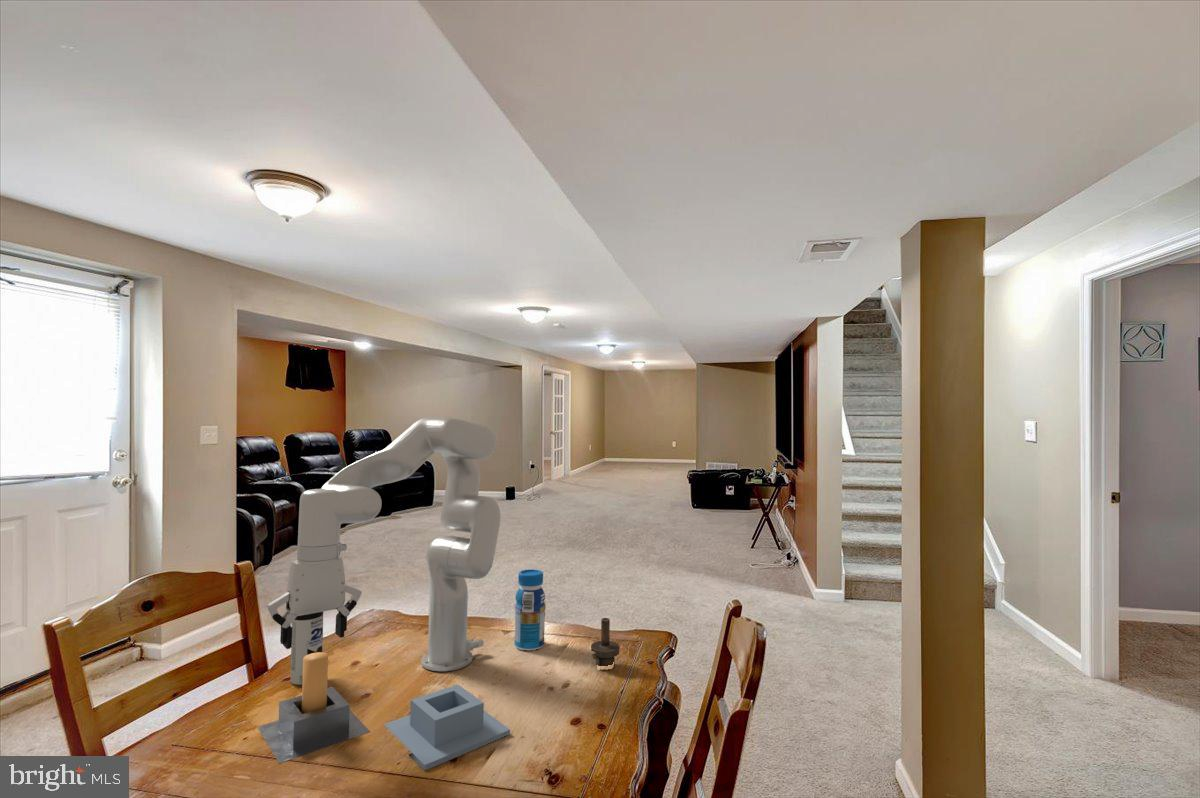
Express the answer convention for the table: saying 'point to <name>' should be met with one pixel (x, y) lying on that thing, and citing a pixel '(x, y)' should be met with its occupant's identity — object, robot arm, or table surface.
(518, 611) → the beverage bottle
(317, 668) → the lock pin
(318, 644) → the spray can
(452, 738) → the socket block
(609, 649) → the industrial component
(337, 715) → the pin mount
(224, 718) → the table surface
